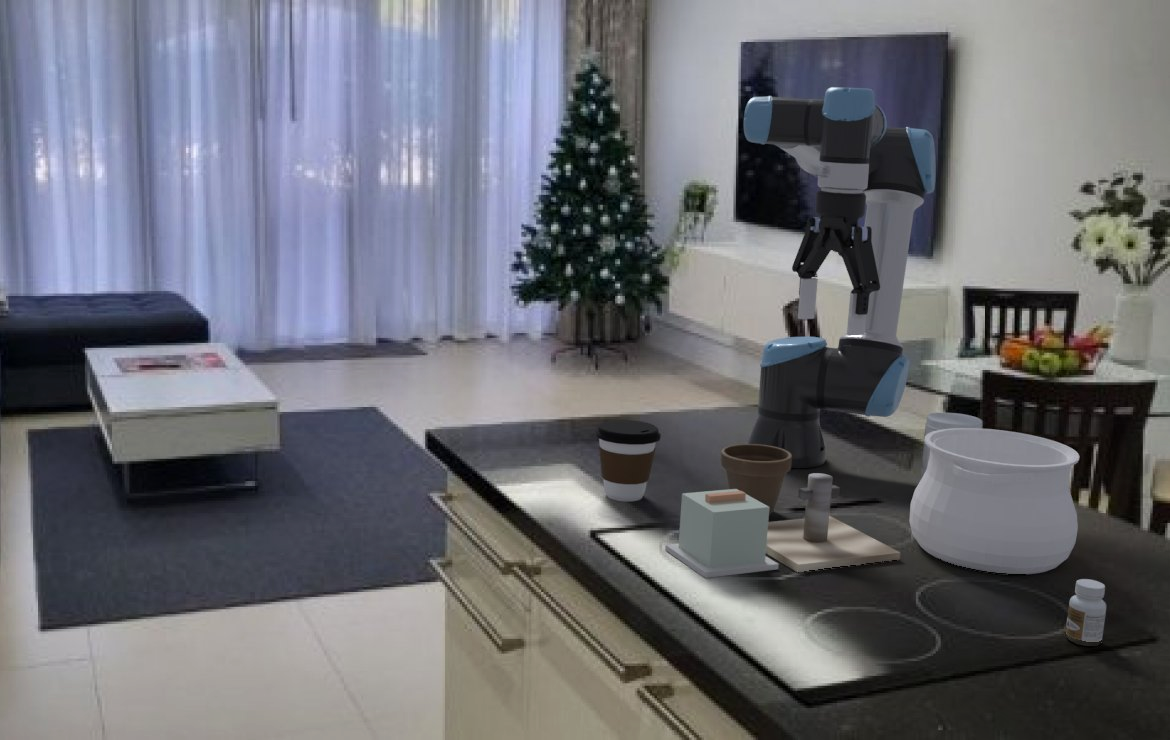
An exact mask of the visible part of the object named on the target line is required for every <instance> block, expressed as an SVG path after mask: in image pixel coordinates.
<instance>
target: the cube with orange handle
mask: <svg viewBox="0 0 1170 740" xmlns="http://www.w3.org/2000/svg"><path fill="white" fill-rule="evenodd" d="M680 503H681V507H680V517H679V521H680V522H679V530H678V533H679V534H678V535H679V536H678V543H679V546H678V547H679V548H681V549H682V550H684V551H685V552H687V553H688V554H690V555H691V556H693V557H694V558H695V559H697V560H698V561H700V562H701V563H703V564H704V565H706V566H707V567H709V568H714V567H723V566H732V565H740V564H749V563H758V562H765V557H767V556H766V555H767V554H766V545H767V533H768V522H770V521H769V519H770V518H769V517H770V514H769V508H770V507H769V506H767V505H765V504H763V503H761V502H759V501H758V500H756V499H754V498H752V497H750V496H749V495H747V494H746V493H745V492H743V491H739V490H738V489H718V490H717V489H716V490H708V491H707V490H706V491H696V492H684V493H683V492H682V493H681V502H680Z"/></svg>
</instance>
